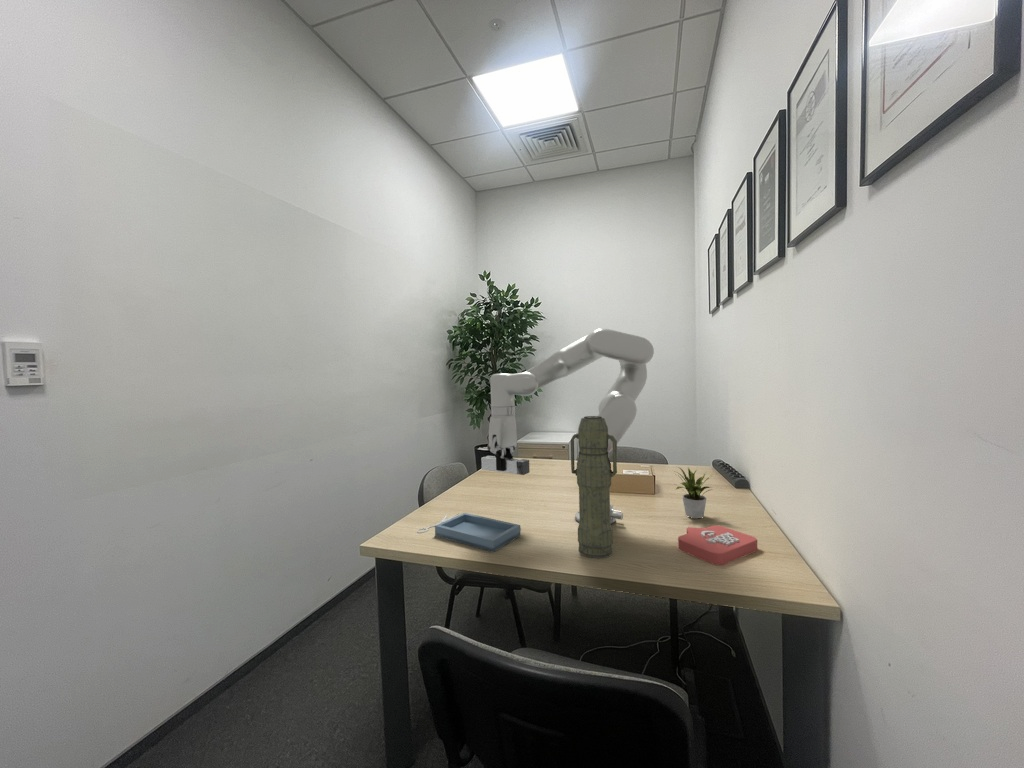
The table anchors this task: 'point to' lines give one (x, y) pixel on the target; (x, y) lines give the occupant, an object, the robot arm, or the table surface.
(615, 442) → the thermos
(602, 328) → the robot arm
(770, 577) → the table surface
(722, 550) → the plaque
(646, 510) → the table surface
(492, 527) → the tray
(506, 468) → the two-tone rectangular block
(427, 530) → the scissors
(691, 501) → the house plant
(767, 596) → the table surface
